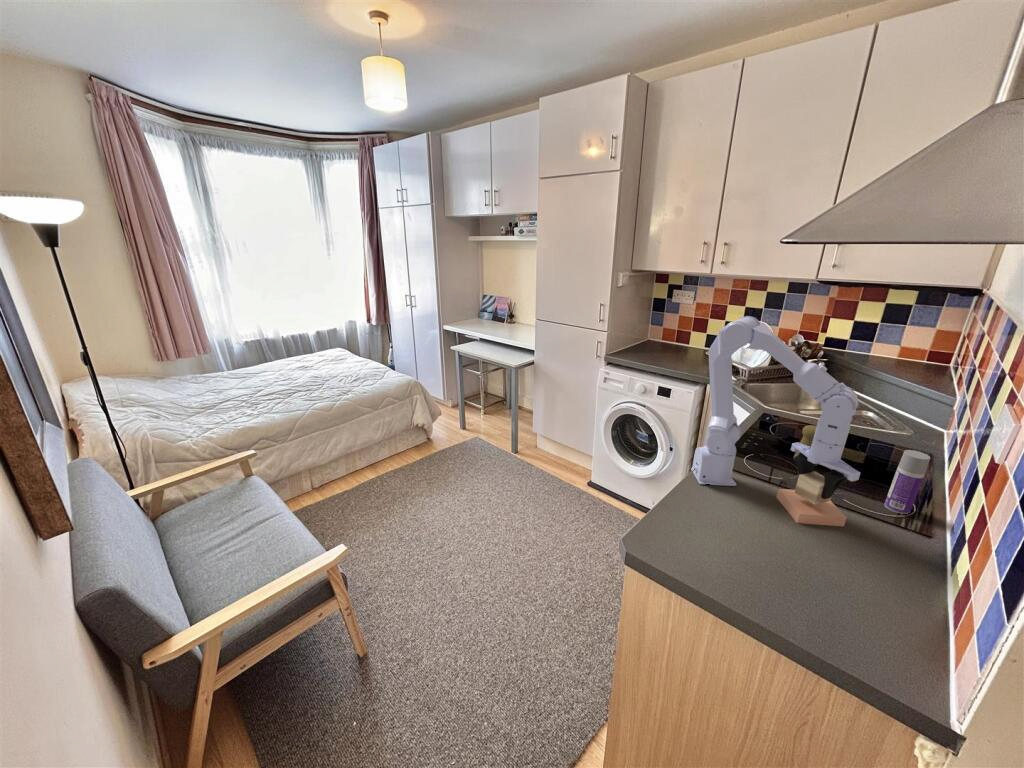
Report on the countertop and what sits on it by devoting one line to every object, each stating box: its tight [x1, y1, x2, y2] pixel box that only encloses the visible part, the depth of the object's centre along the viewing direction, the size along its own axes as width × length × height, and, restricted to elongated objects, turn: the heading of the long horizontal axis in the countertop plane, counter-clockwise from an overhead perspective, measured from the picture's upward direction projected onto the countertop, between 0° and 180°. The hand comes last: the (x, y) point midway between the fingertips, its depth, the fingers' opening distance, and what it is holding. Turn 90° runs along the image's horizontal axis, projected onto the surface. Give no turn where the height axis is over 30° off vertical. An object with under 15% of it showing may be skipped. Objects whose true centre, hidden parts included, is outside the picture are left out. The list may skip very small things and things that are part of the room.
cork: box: [793, 424, 819, 467], centre depth 119 cm, size 6×6×11 cm
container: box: [883, 449, 931, 515], centre depth 97 cm, size 5×5×15 cm
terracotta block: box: [776, 488, 848, 527], centre depth 98 cm, size 10×10×3 cm
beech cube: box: [794, 471, 833, 505], centre depth 96 cm, size 5×5×5 cm
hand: (814, 490), depth 97 cm, fingers closed on beech cube, 5 cm apart
